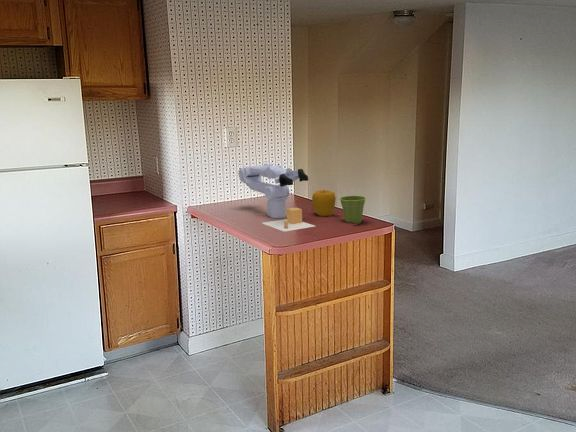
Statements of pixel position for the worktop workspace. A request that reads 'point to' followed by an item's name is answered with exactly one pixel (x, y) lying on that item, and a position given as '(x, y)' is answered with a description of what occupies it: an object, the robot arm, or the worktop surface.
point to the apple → (324, 202)
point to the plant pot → (353, 208)
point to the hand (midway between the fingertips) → (299, 180)
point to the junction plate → (290, 227)
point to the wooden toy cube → (294, 215)
